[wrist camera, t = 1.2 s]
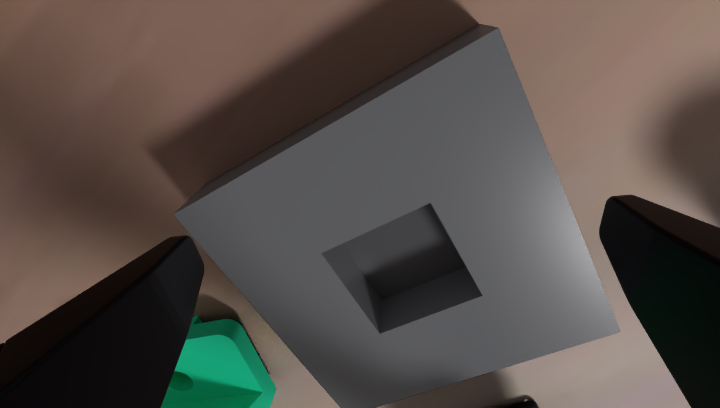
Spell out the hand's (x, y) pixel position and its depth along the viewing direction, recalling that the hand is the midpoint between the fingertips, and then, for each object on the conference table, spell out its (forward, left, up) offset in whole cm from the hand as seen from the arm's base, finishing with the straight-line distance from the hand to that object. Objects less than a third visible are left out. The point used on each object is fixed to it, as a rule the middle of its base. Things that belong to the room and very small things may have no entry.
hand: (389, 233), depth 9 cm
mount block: (-8, +4, -14) cm, 17 cm away
